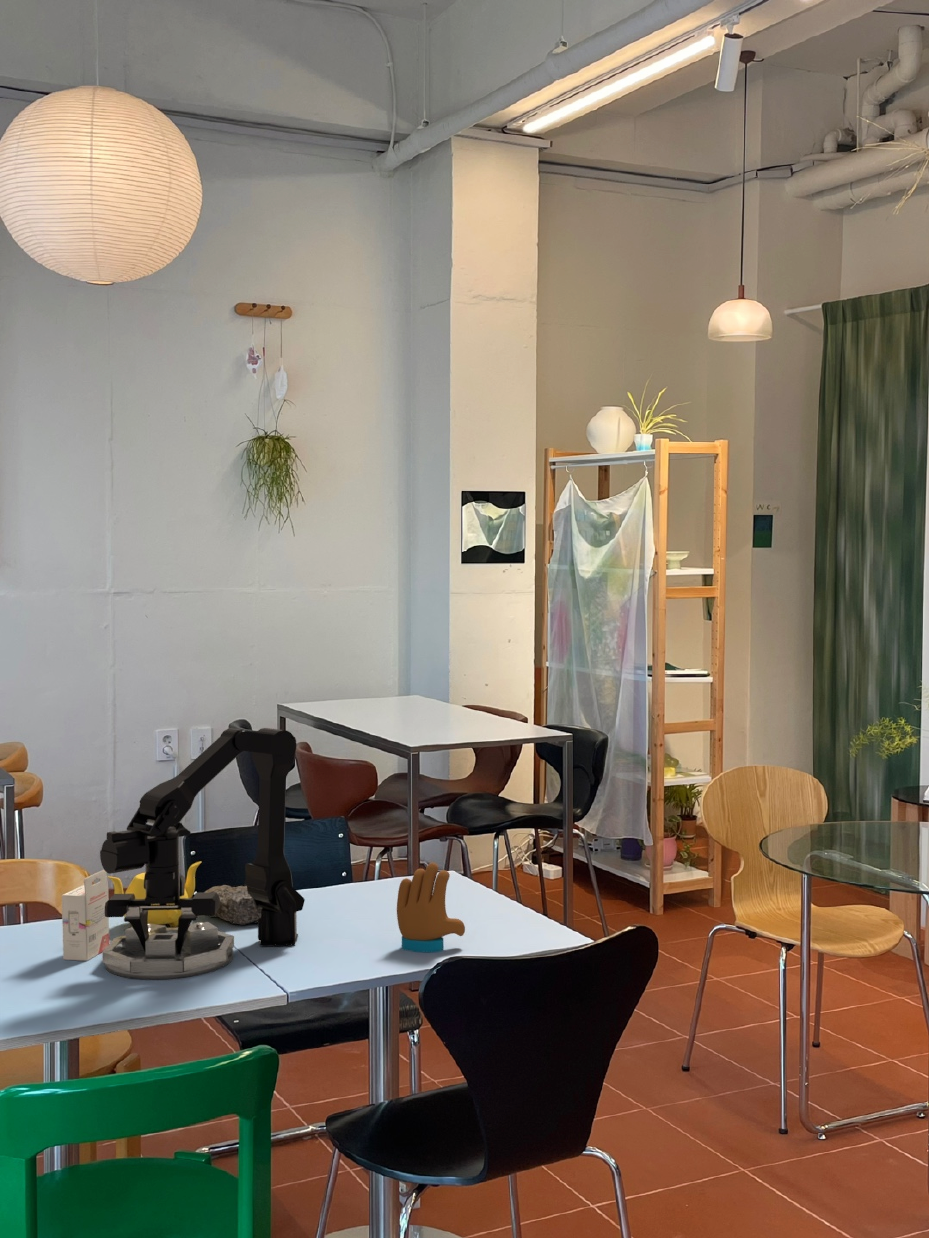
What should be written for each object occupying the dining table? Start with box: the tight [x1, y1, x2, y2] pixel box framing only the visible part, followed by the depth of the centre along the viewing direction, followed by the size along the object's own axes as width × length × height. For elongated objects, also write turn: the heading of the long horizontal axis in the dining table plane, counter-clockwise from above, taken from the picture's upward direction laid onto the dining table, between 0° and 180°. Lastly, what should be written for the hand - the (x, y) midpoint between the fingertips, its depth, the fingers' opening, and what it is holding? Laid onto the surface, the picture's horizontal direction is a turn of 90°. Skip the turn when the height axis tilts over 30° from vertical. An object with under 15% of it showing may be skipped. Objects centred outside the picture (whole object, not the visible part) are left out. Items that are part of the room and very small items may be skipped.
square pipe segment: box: [145, 933, 181, 959], centre depth 216 cm, size 5×5×4 cm
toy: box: [396, 862, 466, 953], centre depth 229 cm, size 12×7×15 cm, turn 70°
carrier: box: [101, 921, 235, 981], centre depth 222 cm, size 22×22×6 cm
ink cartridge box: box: [61, 869, 110, 962], centre depth 226 cm, size 9×5×15 cm, turn 168°
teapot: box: [107, 861, 202, 928], centre depth 245 cm, size 20×15×12 cm
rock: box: [203, 884, 262, 926], centre depth 251 cm, size 13×6×15 cm
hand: (163, 954), depth 216 cm, fingers closed on square pipe segment, 5 cm apart
